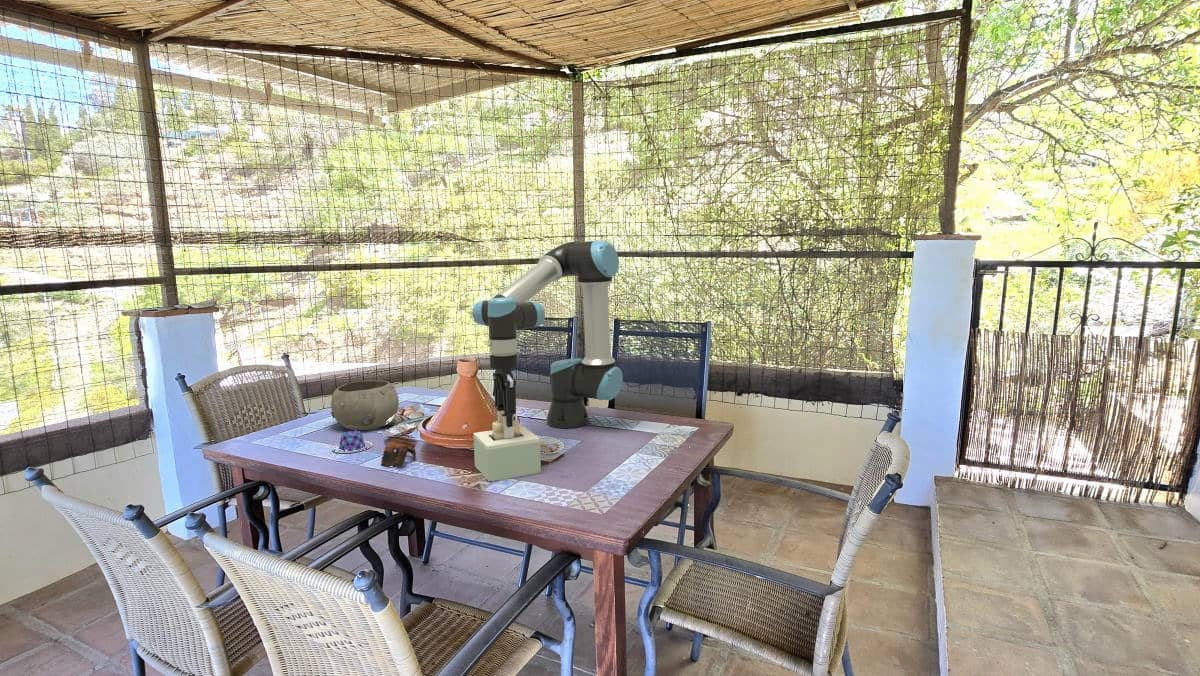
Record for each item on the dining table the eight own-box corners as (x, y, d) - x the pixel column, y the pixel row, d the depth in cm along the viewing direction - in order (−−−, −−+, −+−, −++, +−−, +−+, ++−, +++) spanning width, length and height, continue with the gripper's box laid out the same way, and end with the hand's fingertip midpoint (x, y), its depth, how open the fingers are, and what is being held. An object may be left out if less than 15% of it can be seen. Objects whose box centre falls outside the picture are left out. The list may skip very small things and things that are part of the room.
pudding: (328, 456, 188) (327, 439, 187) (336, 444, 200) (335, 429, 199) (369, 453, 191) (368, 436, 190) (374, 441, 202) (373, 426, 202)
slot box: (524, 458, 183) (523, 425, 182) (540, 472, 171) (539, 438, 169) (474, 466, 177) (473, 433, 175) (488, 482, 164) (487, 446, 163)
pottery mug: (375, 463, 182) (385, 436, 184) (405, 472, 186) (415, 446, 189) (384, 464, 172) (395, 436, 174) (416, 473, 176) (426, 446, 178)
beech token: (517, 433, 175) (516, 420, 175) (520, 437, 172) (519, 423, 171) (492, 436, 173) (492, 422, 173) (495, 440, 169) (494, 426, 169)
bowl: (344, 417, 232) (341, 379, 229) (406, 415, 234) (403, 377, 232) (323, 435, 209) (320, 392, 207) (392, 432, 211) (389, 390, 209)
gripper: (481, 350, 175) (484, 429, 178) (499, 359, 160) (502, 445, 163) (506, 348, 178) (509, 425, 182) (526, 357, 163) (529, 441, 166)
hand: (506, 435), depth 172 cm, fingers closed on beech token, 4 cm apart
